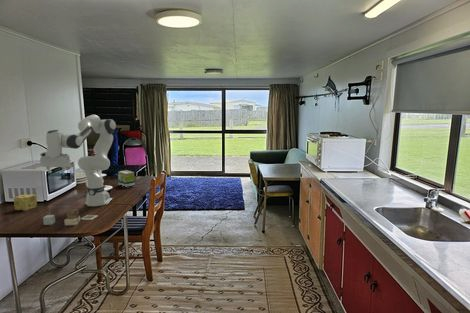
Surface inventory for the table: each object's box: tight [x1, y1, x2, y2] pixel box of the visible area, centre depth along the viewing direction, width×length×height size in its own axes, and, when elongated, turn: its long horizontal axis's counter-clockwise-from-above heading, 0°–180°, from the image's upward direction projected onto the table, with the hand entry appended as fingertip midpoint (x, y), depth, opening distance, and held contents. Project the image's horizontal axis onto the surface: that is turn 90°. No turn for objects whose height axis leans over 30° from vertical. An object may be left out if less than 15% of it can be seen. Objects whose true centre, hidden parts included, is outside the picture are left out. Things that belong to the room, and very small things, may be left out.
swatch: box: [80, 214, 99, 221], centre depth 206 cm, size 8×8×1 cm
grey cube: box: [42, 214, 56, 226], centre depth 194 cm, size 5×5×5 cm
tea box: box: [117, 169, 136, 188], centre depth 298 cm, size 15×10×15 cm, turn 49°
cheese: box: [13, 194, 38, 212], centre depth 224 cm, size 10×11×10 cm
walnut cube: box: [65, 208, 80, 219], centre depth 195 cm, size 5×5×5 cm
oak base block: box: [63, 215, 81, 226], centre depth 195 cm, size 7×7×4 cm
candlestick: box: [85, 170, 113, 192], centre depth 275 cm, size 21×25×28 cm
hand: (56, 173), depth 205 cm, fingers open, 8 cm apart
